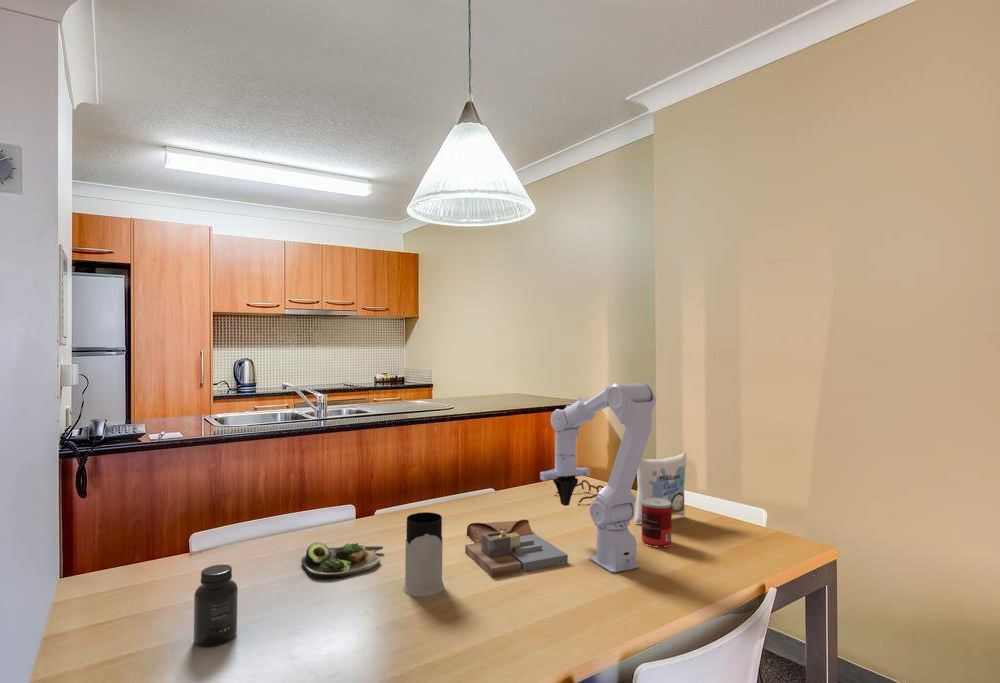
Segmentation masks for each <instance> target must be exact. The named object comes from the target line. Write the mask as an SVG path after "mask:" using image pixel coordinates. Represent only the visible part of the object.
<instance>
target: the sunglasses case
mask: <svg viewBox="0 0 1000 683" xmlns="http://www.w3.org/2000/svg"><path fill="white" fill-rule="evenodd" d="M529 523H530V522H529V520H528V519H520V520H513V521H512V520H511V521H509V520H507V521H495V522H472V523H469V524H468V525H467V528H466V536H467V535H468V536H469V537H468V536H467V537H468V539H469V538H470V539H471V540H472V541H473V542H474V543H481V539H482V534H484V533H491V532H498V531H501V530H505V531H506V534H508V533H515V532H516V533H517V534H519V535H520V536H525V535H532V534H534V533H533V532H532V529H531V525H530V524H529ZM470 539H469V540H470ZM471 540H470V541H471ZM472 541H471V542H472Z"/></svg>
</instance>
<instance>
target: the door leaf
mask: <svg viewBox="0 0 1000 683" xmlns="http://www.w3.org/2000/svg"><path fill="white" fill-rule="evenodd" d="M510 555H511V556H512V557H514V558H515V559H516V560H518V561H519V562H520V563H521V572H528V571H527V570H529V571H533V569H534V570H539V569H543V568H542V567H545V568H548V567H547V566H550V567H553V565H555V566H559V565H558V564H561V565H563V564H562V563H566V564H568V563H567V562H569V561H568V558H569V557H568V556H569V554H567V553H565V552H564V551H563V550H561V549H560V548H558V547H556V546H555V545H553V544H552V543H550V542H549V541H547V540H545V539H544V538H542V537H541V536H539V535H538V534H536V533H533V534H532V535H525V536H520V548H515V551H512V552H510ZM538 568H539V569H538Z"/></svg>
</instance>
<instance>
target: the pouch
mask: <svg viewBox="0 0 1000 683" xmlns="http://www.w3.org/2000/svg"><path fill="white" fill-rule="evenodd" d="M686 466H687V452H686V451H685V452H683V453H680V454H678V455H675V456H670V457H665V458H661V459H656V458H648V459H645V458H642V459H641V462H640V465H639V468H638V471H637V474H636V478H637V480H636V481H637V490H636V491H637V494H636V501H635V514H634V524H635V523H638V524H640V523H642V500H643V499H646V498H661V499H666V500H668V501H670V502H671V504H672V516H680V517H683V516H684V517H685V515H686V514H685V513H686V512H685V508H686V507H685V483H686V482H685V481H686Z"/></svg>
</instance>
